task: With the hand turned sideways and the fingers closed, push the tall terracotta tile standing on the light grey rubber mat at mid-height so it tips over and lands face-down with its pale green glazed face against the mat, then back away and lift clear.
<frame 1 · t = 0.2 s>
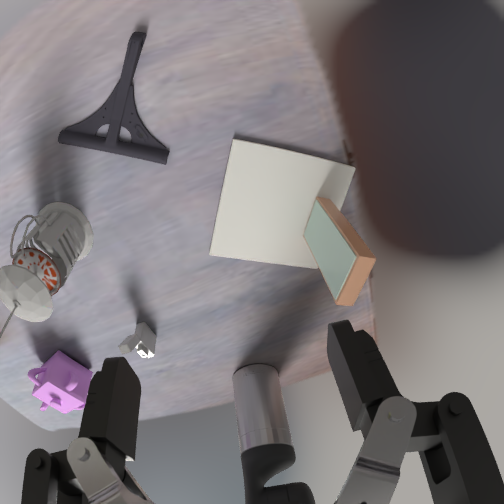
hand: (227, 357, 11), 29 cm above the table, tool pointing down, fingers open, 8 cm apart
tile: (316, 217, 41), point 1 cm above the table, touching mat
lighter: (142, 324, 49), on the table
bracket: (126, 92, 31), on the table
mat: (280, 209, 41), on the table
french press: (62, 227, 38), on the table
teapot: (63, 365, 54), on the table
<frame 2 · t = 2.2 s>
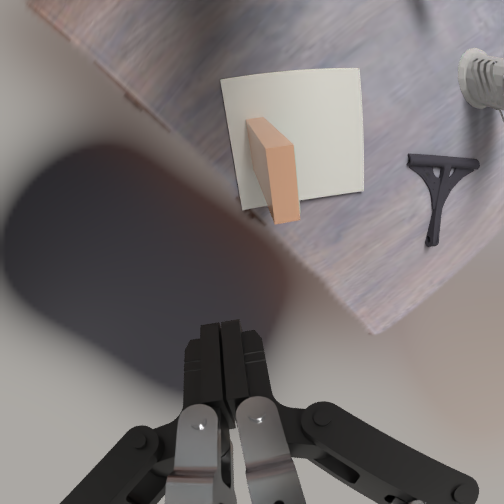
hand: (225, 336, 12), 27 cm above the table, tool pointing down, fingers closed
tile: (258, 143, 34), point 1 cm above the table, touching mat
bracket: (433, 199, 42), on the table
mat: (299, 136, 35), on the table
french press: (478, 84, 32), on the table
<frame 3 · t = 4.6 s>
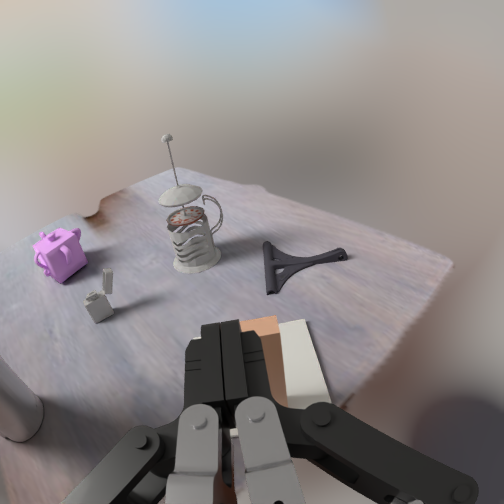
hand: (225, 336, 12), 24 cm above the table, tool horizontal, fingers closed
tile: (261, 408, 33), point 1 cm above the table, touching mat
lighter: (111, 313, 51), on the table
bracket: (306, 267, 56), on the table
mat: (256, 377, 37), on the table
french press: (201, 258, 62), on the table
teapot: (68, 269, 66), on the table
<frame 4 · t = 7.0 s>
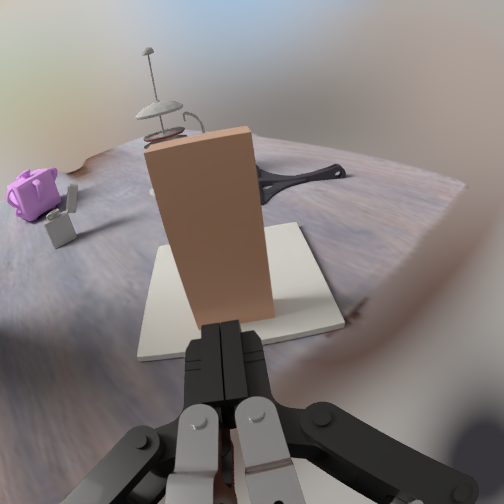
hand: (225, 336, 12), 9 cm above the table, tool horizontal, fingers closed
tile: (235, 315, 25), point 1 cm above the table, touching mat
lighter: (74, 238, 43), on the table
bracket: (298, 186, 48), on the table
mat: (232, 282, 29), on the table
french press: (181, 184, 54), on the table
teapot: (41, 211, 58), on the table
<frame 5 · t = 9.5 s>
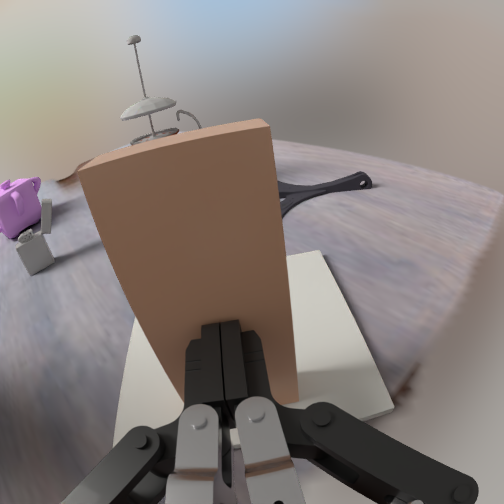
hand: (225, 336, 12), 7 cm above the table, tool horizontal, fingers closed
tile: (243, 396, 17), point 1 cm above the table, touching gripper, mat
lighter: (51, 262, 35), on the table
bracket: (316, 198, 40), on the table
mat: (238, 340, 21), on the table
french press: (176, 196, 46), on the table
teapot: (24, 226, 50), on the table
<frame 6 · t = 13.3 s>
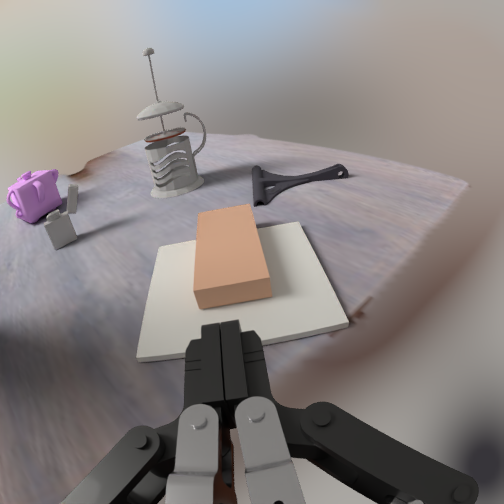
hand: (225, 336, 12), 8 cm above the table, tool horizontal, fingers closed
tile: (233, 293, 25), point 2 cm above the table, tilted 90°, touching mat
lighter: (74, 239, 43), on the table
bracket: (301, 186, 48), on the table
mat: (233, 282, 29), on the table
french press: (182, 186, 54), on the table
teapot: (42, 213, 58), on the table
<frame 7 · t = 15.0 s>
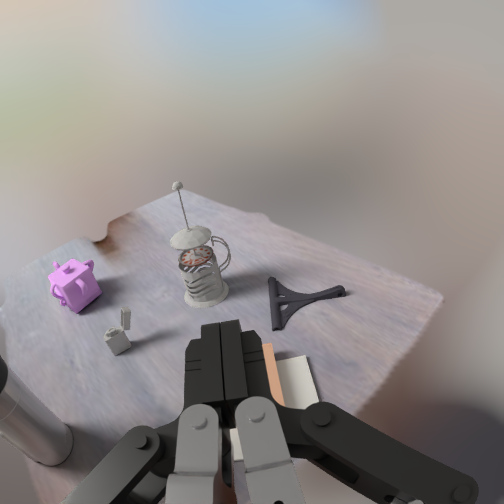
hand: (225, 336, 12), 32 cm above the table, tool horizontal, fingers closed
tile: (265, 425, 38), point 2 cm above the table, tilted 90°, touching mat
lighter: (128, 345, 56), on the table
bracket: (308, 303, 61), on the table
mat: (263, 408, 42), on the table
french press: (210, 292, 67), on the table
teapot: (82, 297, 71), on the table
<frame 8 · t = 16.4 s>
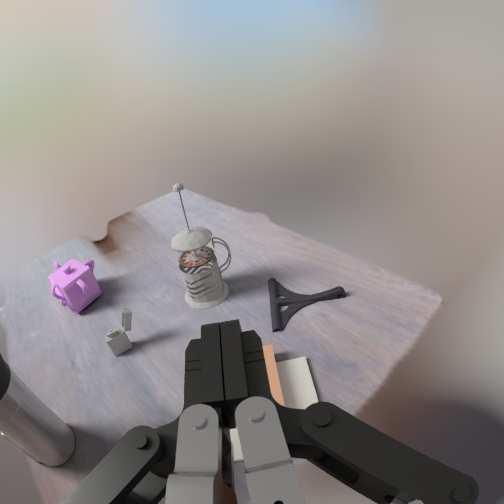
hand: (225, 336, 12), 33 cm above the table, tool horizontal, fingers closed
tile: (266, 425, 38), point 2 cm above the table, tilted 90°, touching mat
lighter: (129, 346, 56), on the table
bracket: (308, 304, 61), on the table
mat: (263, 409, 42), on the table
french press: (210, 292, 67), on the table
teapot: (83, 298, 71), on the table
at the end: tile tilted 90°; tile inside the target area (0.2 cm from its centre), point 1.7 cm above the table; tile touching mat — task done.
